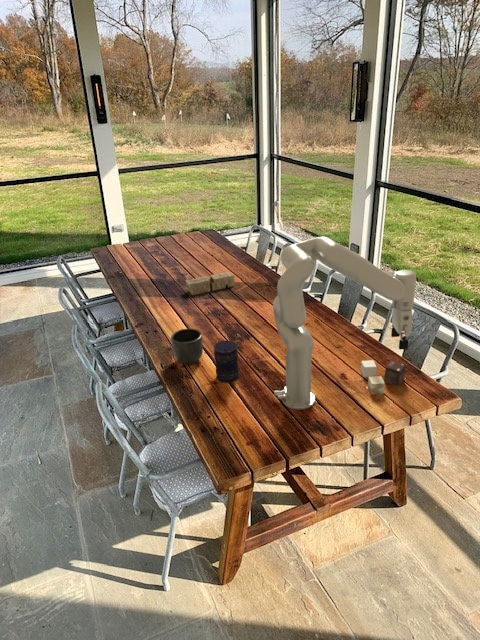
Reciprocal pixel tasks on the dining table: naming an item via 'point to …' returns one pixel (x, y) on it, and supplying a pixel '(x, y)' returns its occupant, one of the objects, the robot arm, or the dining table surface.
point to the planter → (187, 345)
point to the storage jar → (226, 361)
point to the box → (394, 373)
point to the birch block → (376, 385)
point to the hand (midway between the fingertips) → (399, 342)
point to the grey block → (368, 368)
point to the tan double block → (210, 283)
